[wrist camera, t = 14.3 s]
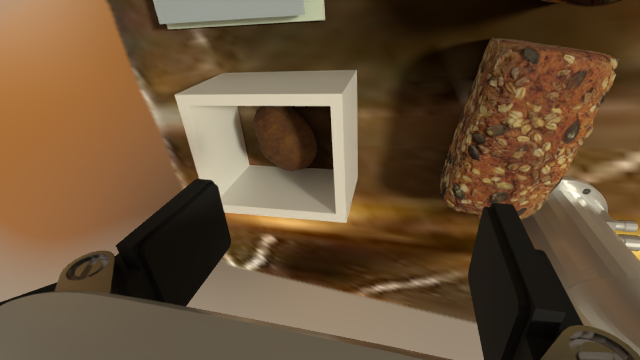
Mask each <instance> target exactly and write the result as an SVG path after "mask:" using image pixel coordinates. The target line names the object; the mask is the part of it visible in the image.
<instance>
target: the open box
mask: <svg viewBox="0 0 640 360" xmlns="http://www.w3.org/2000/svg"><path fill="white" fill-rule="evenodd" d="M175 98H176V102H177V105H178V108H179V112H180V115H181V119H182V122H183V125H184V129H185V132H186V136H187V139H188V142H189V146H190V149H191V153H192V156H193V160H194V163H195V166H196V170H197V173H198V177H199V179H207V180H212V181H213V182H214V184H216V185H217V186H218V188H219V193H220V197H221V201H222V205H223V209H224V212H227V213H239V214H250V215H261V216H273V217H284V218H296V219H307V220H319V221H330V222H342V223H346V222H347V218H348V214H349V210H350V206H351V202H352V198H353V194H354V190H355V186H356V182H357V179H358V151H357V70H331V71H287V72H244V73H222V74H220V75H217V76H215V77H213V78H211V79H209V80H206V81H204V82H202V83H200V84H197V85H195V86H193V87H191V88H188V89H186V90H184V91H182V92H180V93H177V94H175ZM238 106H330V107H331V127H332V147H333V166H334V169H316V168H304V169H301V170H296V171H289V170H284V169H281V168H279V167H276V166H255V165H249V161H248V156H247V151H246V146H245V141H244V136H243V130H242V125H241V120H240V115H239V110H238Z"/></svg>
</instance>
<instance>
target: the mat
mask: <svg viewBox="0 0 640 360" xmlns="http://www.w3.org/2000/svg"><path fill="white" fill-rule="evenodd" d="M304 7H305V15H295V16H280V17H264V18H249V19H233V20H218V21H202V22H187V23H171V24H167V27H168V29H182V28H199V27H215V26H232V25H249V24H265V23H282V22H299V21H315V20H325V9H324V0H304Z"/></svg>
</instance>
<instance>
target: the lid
mask: <svg viewBox="0 0 640 360" xmlns="http://www.w3.org/2000/svg"><path fill="white" fill-rule="evenodd" d="M153 2H154V6H155V9H156V13H157V17H158V20H159V24H171V23H187V22H202V21H218V20H233V19H249V18H264V17H280V16H295V15H305V7H304V0H153Z"/></svg>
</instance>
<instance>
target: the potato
mask: <svg viewBox="0 0 640 360" xmlns="http://www.w3.org/2000/svg"><path fill="white" fill-rule="evenodd" d="M252 126H253V129H254V131H255V134H256V136H257V139H258V141H259V145H260V150H261V152H262V154H263V156H264V157H265V158H266V159H267V160H269V161H270V162H272V163H273V164H275V165H276V166H277V167H279V168H281V169H284V170H289V171H296V170H301V169H304V168H306V167H307V166H308V165H310V164H311V163H312V162H313V161H314V159H315V157H316V154H317V152H318V149H317V142H316V138H315V136H314V133H313V131H312V129H311V127H310V125H309V124H308V123H307V122H306V121H305V120H304V119H303V118H302V117H301V116H300V115H299V114H298V113H297V112H296V111H295V110H294V109H293V108H292V107H290V106H262V107H260V108H259V109H258V110H257V112H256V114H255V117H254V120H253V124H252Z"/></svg>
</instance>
